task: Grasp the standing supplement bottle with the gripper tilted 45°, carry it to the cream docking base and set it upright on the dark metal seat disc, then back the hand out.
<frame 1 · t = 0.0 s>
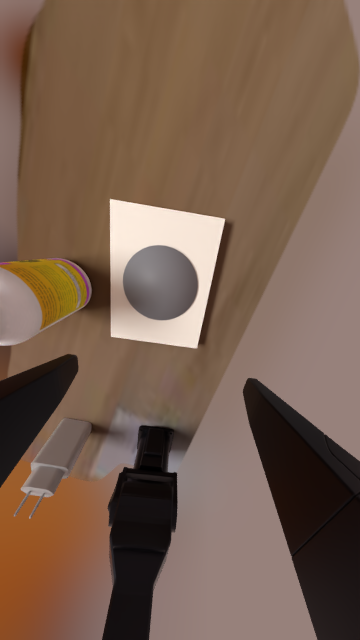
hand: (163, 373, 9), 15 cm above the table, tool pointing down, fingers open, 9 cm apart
supplement bottle: (68, 284, 22), on the table
docking base: (161, 283, 22), on the table
power adapter: (77, 424, 33), on the table
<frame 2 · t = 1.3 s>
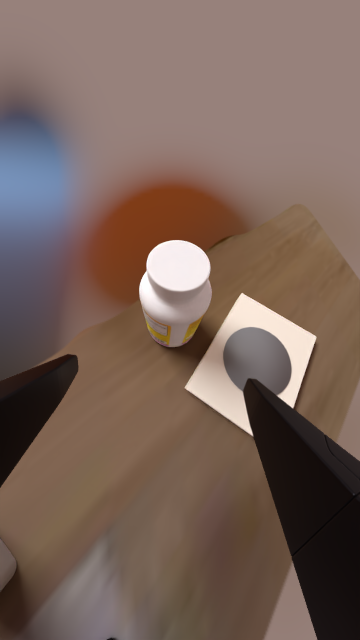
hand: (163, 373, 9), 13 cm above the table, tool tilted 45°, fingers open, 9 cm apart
supplement bottle: (171, 325, 24), on the table
docking base: (252, 361, 23), on the table
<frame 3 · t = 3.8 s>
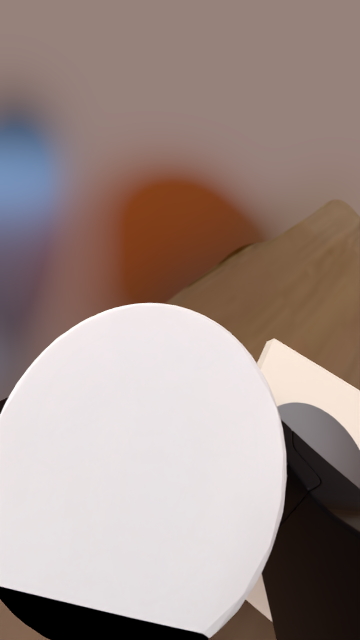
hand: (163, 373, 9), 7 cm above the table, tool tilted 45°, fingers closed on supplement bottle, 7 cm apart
supplement bottle: (160, 396, 15), on the table, touching gripper
docking base: (298, 463, 14), on the table
when the fingers open (9 cm above the table, at t = 8.3 s): supplement bottle drops 1 cm, resting on docking base.
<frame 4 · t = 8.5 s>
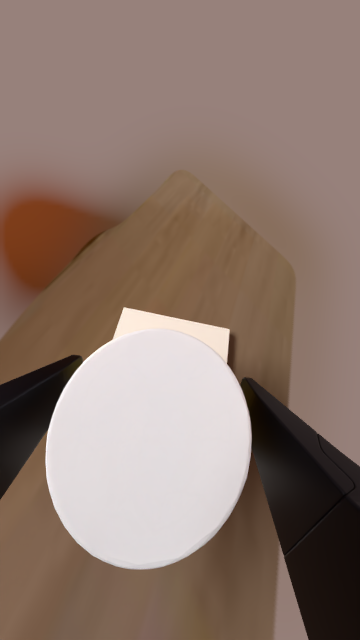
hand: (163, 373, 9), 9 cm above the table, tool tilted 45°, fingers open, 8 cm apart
supplement bottle: (160, 397, 16), point 1 cm above the table, touching docking base
docking base: (161, 395, 17), on the table
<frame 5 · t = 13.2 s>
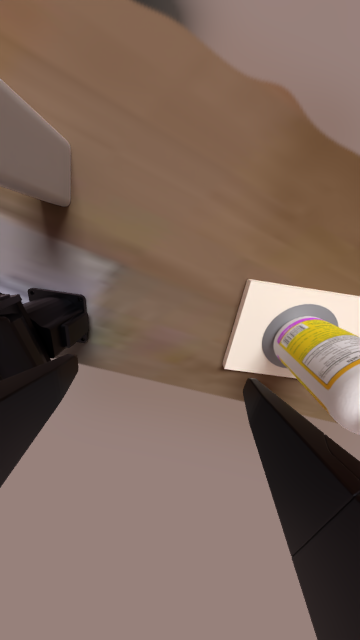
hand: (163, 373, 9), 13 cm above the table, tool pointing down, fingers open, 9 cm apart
supplement bottle: (297, 338, 21), point 1 cm above the table, touching docking base
docking base: (293, 334, 22), on the table
power adapter: (55, 172, 16), on the table
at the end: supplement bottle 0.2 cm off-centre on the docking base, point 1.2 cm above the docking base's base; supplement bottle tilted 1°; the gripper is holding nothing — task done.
